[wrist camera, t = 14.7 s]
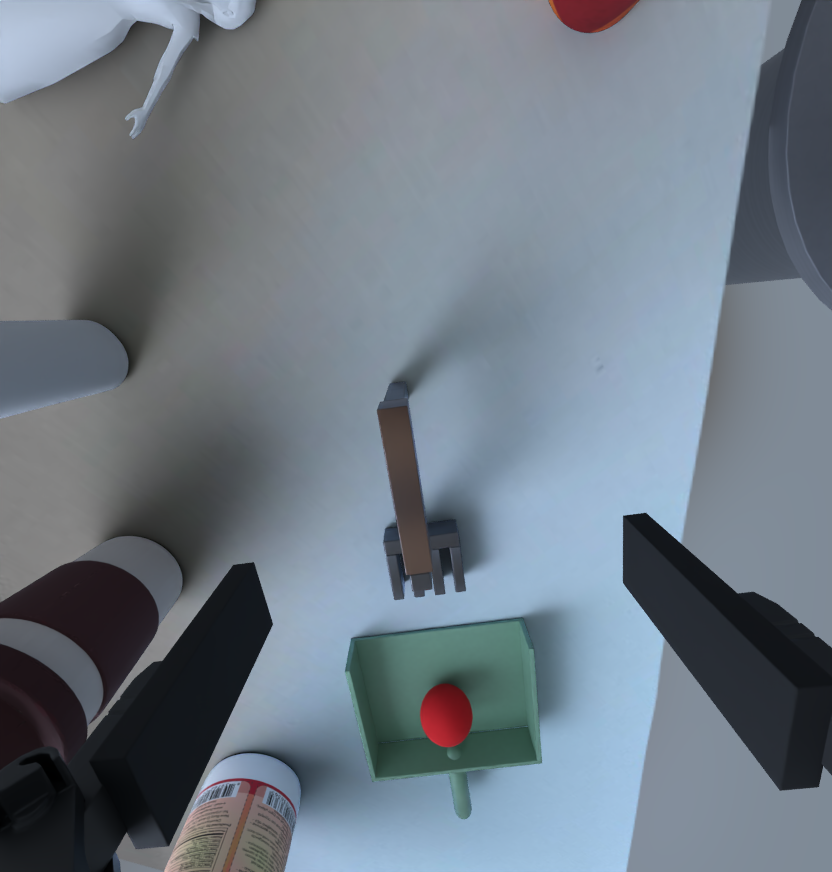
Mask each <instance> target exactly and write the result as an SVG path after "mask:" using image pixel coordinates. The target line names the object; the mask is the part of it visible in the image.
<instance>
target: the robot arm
mask: <svg viewBox="0 0 832 872" xmlns="http://www.w3.org/2000/svg"><path fill="white" fill-rule="evenodd" d="M623 584H624V585H625V586H626V588H627V589H628V590H629V592H630V593H631V594H632V596H633V597H634V598H635V599H636V601H637V602H638V603H639V605H640V606H641V607H642V609H643V610H644V611H645V613H646V614H647V615H648V617H649V618H650V619H651V621H652V622H653V623H654V625H655V626H656V627H657V629H658V630H659V631H660V633H661V634H662V635H663V636H664V638H665V639H666V640H667V642H668V643H669V644H670V646H671V647H672V648H673V650H674V651H675V652H676V654H677V655H678V656H679V658H680V659H681V660H682V662H683V663H684V664H685V666H686V667H687V668H688V670H689V671H690V672H691V673H692V675H693V676H694V677H695V679H696V680H697V681H698V682H699V684H700V685H701V687H702V688H703V689H704V691H705V692H706V693H707V695H708V696H709V697H710V698H711V700H712V701H713V703H714V704H715V705H716V707H717V708H718V709H719V710H720V712H721V713H722V714H723V716H724V717H725V718H726V720H727V721H728V722H729V724H730V725H731V726H732V728H733V729H734V730H735V732H736V733H737V734H738V736H739V737H740V738H741V740H742V741H743V742H744V743H745V745H746V746H747V747H748V749H749V750H750V751H751V753H752V754H753V755H754V757H755V758H756V759H757V761H758V762H759V763H760V765H761V766H762V767H763V769H764V770H765V771H766V773H767V774H768V775H769V777H770V778H771V779H772V781H773V782H774V783H775V784H776V786H777V787H778V788H779V790H792V789H803V788H814V787H819V783H820V779H821V773H822V769H823V766H824V767H825V768H826V769H827V770H828V771H829V773H830V774H831V775H832V648H831V647H830V646H828V645H827V644H826V643H825V642H824V641H823V640H821V639H820V638H819V637H815V636H814V633H813V632H812V631H810V630H809V629H808V628H807V627H805V626H804V625H803V624H802V623H798V620H797V619H796V618H794V617H793V616H792V615H790V614H789V613H788V612H786V610H784V609H783V608H782V607H780V606H779V605H778V604H776V603H774V602H772V601H771V600H768V599H766V598H765V597H763V596H761V595H759V594H757V593H755V592H748V593H739V594H738V593H736V592H735V591H734V590H733V589H732V588H731V587H729V586H728V585H727V584H726V583H725V582H724V581H723V580H722V579H720V578H719V577H718V576H717V575H716V574H715V573H714V572H713V571H711V570H710V569H709V568H708V567H707V566H706V565H705V564H703V563H702V562H701V561H700V560H699V559H698V558H697V557H695V556H694V555H693V554H692V553H691V552H690V551H689V550H688V549H686V548H685V547H684V546H683V545H682V544H681V543H680V542H678V541H677V540H676V539H675V538H674V537H673V536H672V535H670V534H669V533H668V532H667V531H666V530H665V529H664V528H662V527H661V526H660V525H659V524H658V523H657V522H656V521H655V520H653V519H652V518H651V517H650V516H649V515H648V514H647V513H641V514H633V515H625V516H623ZM272 625H273V623H272V619H271V616H270V613H269V610H268V606H267V603H266V600H265V597H264V593H263V590H262V587H261V584H260V580H259V577H258V574H257V571H256V567H255V564H254V562H252V563H245V564H237V565H233V566H232V568H231V569H230V570H229V572H228V573H227V574H226V576H225V577H224V578H223V580H222V581H221V582H220V584H219V585H218V586H217V588H216V589H215V591H214V592H213V593H212V595H211V596H210V597H209V599H208V600H207V601H206V603H205V604H204V605H203V607H202V608H201V610H200V611H199V612H198V614H197V615H196V616H195V618H194V619H193V620H192V622H191V623H190V624H189V626H188V627H187V629H186V630H185V631H184V633H183V634H182V635H181V637H180V638H179V639H178V641H177V642H176V643H175V645H174V646H173V648H172V649H171V650H170V652H169V653H168V654H167V656H166V657H165V658H164V660H163V661H158V662H153V663H152V664H151V665H150V666H148V667H147V668H146V669H145V670H144V671H143V672H141V673H140V674H139V675H138V676H137V677H136V678H134V680H133V681H132V682H131V684H130V685H129V686H128V687H127V689H126V690H125V691H124V693H123V694H122V695H121V696H120V697H121V698H120V700H117V702H116V703H115V704H114V705H113V707H112V708H111V709H110V711H109V714H108V715H107V716H105V717H104V718H103V720H102V721H101V722H100V723H99V725H98V726H97V727H96V729H95V730H94V731H93V732H92V734H91V735H90V736H89V738H88V739H87V740H86V741H85V743H84V744H83V745H82V747H81V748H80V749H79V750H78V752H77V753H76V754H75V756H74V757H73V758H72V759H71V761H70V762H69V763H68V765H66V763H65V762H64V760H63V758H62V756H61V754H60V753H59V751H58V749H57V748H54V747H50V746H47V747H42V748H37V749H35V750H33V751H30V752H28V753H26V754H24V755H22V756H20V757H19V758H17V759H16V760H14V761H13V762H11V763H10V764H8V765H7V766H5V767H4V768H3V769H1V770H0V872H121V871H120V861H119V859H118V856H117V854H116V852H115V851H116V850H117V848H118V846H119V844H120V843H121V841H122V839H123V837H124V835H125V834H126V832H127V833H128V835H129V837H130V839H131V841H132V843H133V845H134V846H135V848H136V849H143V848H154V847H165V846H169V845H170V843H171V841H172V838H173V836H174V834H175V832H176V830H177V828H178V826H179V824H180V821H181V819H182V817H183V815H184V813H185V811H186V809H187V807H188V804H189V802H190V800H191V798H192V796H193V794H194V792H195V789H196V787H197V785H198V783H199V781H200V779H201V777H202V775H203V772H204V770H205V768H206V766H207V764H208V762H209V760H210V758H211V755H212V753H213V751H214V749H215V747H216V745H217V743H218V740H219V738H220V736H221V734H222V732H223V730H224V728H225V726H226V723H227V721H228V719H229V717H230V715H231V713H232V711H233V708H234V706H235V704H236V702H237V700H238V698H239V696H240V694H241V691H242V689H243V687H244V685H245V683H246V681H247V679H248V677H249V674H250V672H251V670H252V668H253V666H254V664H255V662H256V659H257V657H258V655H259V653H260V651H261V649H262V647H263V645H264V642H265V640H266V638H267V636H268V634H269V632H270V630H271V627H272Z"/></svg>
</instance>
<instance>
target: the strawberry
mask: <svg viewBox="0 0 832 872" xmlns="http://www.w3.org/2000/svg"><path fill="white" fill-rule="evenodd" d="M420 719H421V724H422V727H423V730H424V732H425V734H426V735H427V736H428V738H429V739H430V740H431V741H432V742H434V743H435V744H437V745H439V746H442V747H453V746H456V745H458V744H460V743H461V742H462V741H463V740H464V739H465V738H466V737H467V735H468V734H469V732H470V729H471V726H472V719H473V714H472V708H471V704H470V702H469V699H468V698H467V696H466V695H465V693H464V692H463V691H462V690H461V689H459V688H458V687H456V686H454V685H452V684H439V685H436V686H434V687H433V688H431V689H430V690H429V691H428V692H427V694H426V695H425V697H424V699H423V701H422V704H421V709H420Z"/></svg>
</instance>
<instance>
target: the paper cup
mask: <svg viewBox="0 0 832 872" xmlns="http://www.w3.org/2000/svg"><path fill="white" fill-rule="evenodd" d="M638 1H639V0H549V3H550V5H551V7H552V9H553V11H554V13H555V14H556V15H557V17H558V18H559V19H560V20H561V21H562V22H563V23H564V24H565V25H567V26H568V27H570V28H571V29H573V30H576V31H579V32H584V33H594V32H599V31H602V30H605V29H607V28H609V27H611V26H613V25H614V24H616V23H617V22H618V21H620V20H621V19H622V18H623V17H624V16H625V15H626V14H627V13H628V12H629V11H630V10H631V9H632V8H633V7H634V6H635V4H636V3H637V2H638Z"/></svg>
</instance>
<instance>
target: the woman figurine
mask: <svg viewBox="0 0 832 872" xmlns="http://www.w3.org/2000/svg"><path fill="white" fill-rule="evenodd" d="M255 4H256V0H0V102H2V103H8V102H11V101H13V100H15V99H18V98H20V97H23V96H25V95H28V94H30V93H32V92H35V91H37V90H40V89H42V88H44V87H47V86H49V85H52V84H54V83H56V82H58V81H59V80H61V79H63V78H65V77H67V76H68V75H70V74H72V73H74V72H76V71H77V70H79V69H81V68H83V67H85V66H86V65H88V64H90V63H92V62H94V61H95V60H97V59H99V58H101V57H103V56H104V55H106V54H108V53H110V52H111V51H113V50H114V49H115V48H116V47H117V46H118V45H119V44H121V43H122V42H123V41H124V39H125V37H126V35H127V33H128V31H129V29H130V27H131V26H132V25H133V24H134V23H135V22H136V21H142V22H148V23H154V24H159V25H161V26H163V27H166V28H168V29H173V30H174V31H173V34H172V37H171V39H170V42H169V45H168V47H167V49H166V50H165V52H164V54H163V56H162V58H161V60H160V62H159V65H158V67H157V70H156V73H155V75H154V78H153V80H154V82H153V85H152V87H151V89H150V91H149V93H148V96H147V98H146V100H145V102H144V105H143V107H142V108H138V109H135V110H133V111H131V112H130V113H129V114H128V115H127V116H126V117H125V119H126V120H129V119H130V118H132V117H134V118H135V124H134V127H133V129H132V131H131V133H130V134H129V135H130V136H132V135H133V134H134V135H133V136H132V139H135V138H136V137H137V136H138V135H139V134H140V133H141V131H142V130H143V129H144V127H145V124H146V122H147V119H148V117H149V116H150V114H151V112H152V110H153V108H154V106H155V104H156V102H157V101H158V99H159V97H160V95H161V93H162V91H163V90H164V88H165V87H166V86H167V84H168V82H169V81H170V79H171V77H172V74H173V70H174V68H175V66H176V65H177V63H178V61H179V59H180V57H181V56H182V54H183V53H184V51H185V50H186V48H187V47H188V46H189V44H190V43H191V42H192V40H193V39H194V40H196V41H198V39H199V27H200V14H202V15H204V16H205V17H206V18H207V19H209V20H210V21H212V22H214V23H215V24H217V25H219V26H221V27H222V28H224V29H235V28H237V27H239V26H241V25H242V24H243V23H244V22H245V21H246V20H247V19H248V18H249V17H251V16H252V14H253V13H254V11H255Z"/></svg>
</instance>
